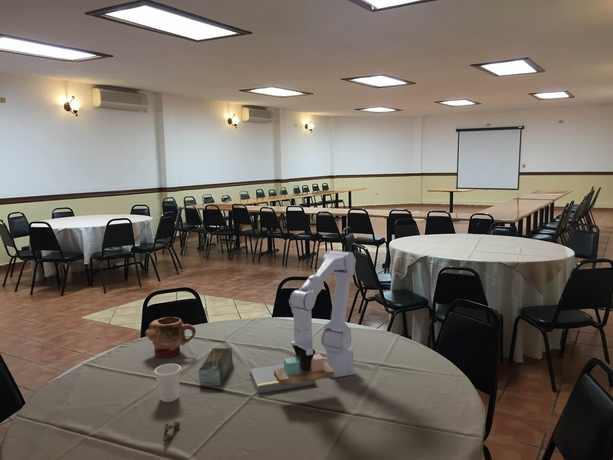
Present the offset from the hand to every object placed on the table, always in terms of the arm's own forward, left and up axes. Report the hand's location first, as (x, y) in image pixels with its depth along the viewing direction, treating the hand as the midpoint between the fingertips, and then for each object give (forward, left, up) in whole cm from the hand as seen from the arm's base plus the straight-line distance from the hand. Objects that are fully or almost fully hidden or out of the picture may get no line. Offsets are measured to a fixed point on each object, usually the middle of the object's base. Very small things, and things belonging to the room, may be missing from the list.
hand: (303, 367), depth 158 cm
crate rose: (-4, 0, -1) cm, 4 cm away
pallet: (0, 0, -3) cm, 3 cm away
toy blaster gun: (+42, +9, -10) cm, 44 cm away
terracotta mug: (+40, -52, -10) cm, 66 cm away
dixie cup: (+42, -14, -10) cm, 45 cm away
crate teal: (+4, 0, -1) cm, 4 cm away
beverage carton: (+25, -27, -10) cm, 38 cm away
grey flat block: (+4, -14, -10) cm, 18 cm away
